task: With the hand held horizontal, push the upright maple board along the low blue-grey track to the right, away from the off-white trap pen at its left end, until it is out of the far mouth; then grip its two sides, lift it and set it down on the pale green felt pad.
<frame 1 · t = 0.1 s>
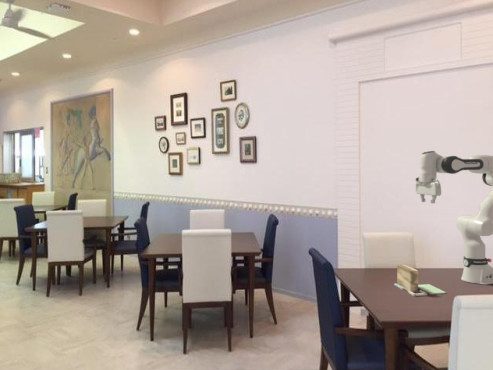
hand: (428, 202, 243), 48 cm above the table, tool pointing down, fingers open, 8 cm apart
pad: (429, 289, 232), on the table
track: (404, 286, 238), on the table
board: (407, 288, 235), on the table
trap pen: (417, 293, 225), on the table
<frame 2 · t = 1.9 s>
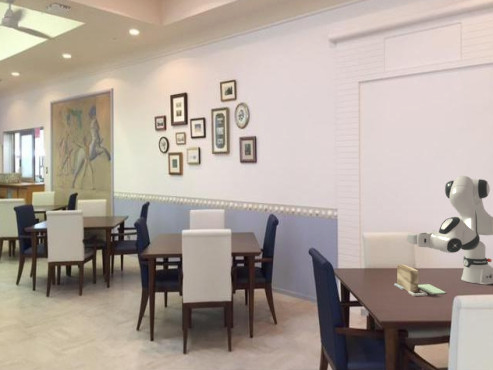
hand: (419, 235, 222), 32 cm above the table, tool horizontal, fingers open, 6 cm apart
nothing on the table moved.
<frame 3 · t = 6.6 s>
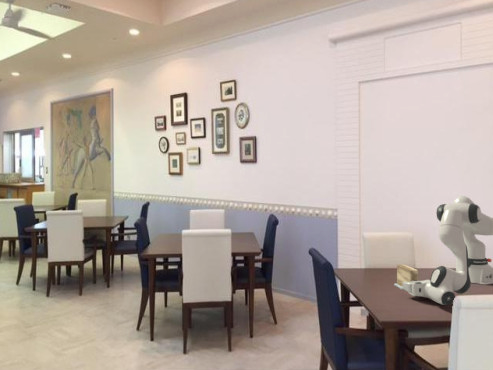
hand: (414, 281, 228), 6 cm above the table, tool horizontal, fingers closed, pressing on board
board: (407, 288, 235), on the table, touching gripper
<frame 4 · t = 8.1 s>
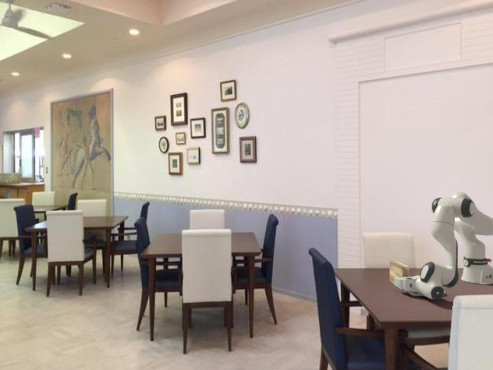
hand: (405, 277, 237), 6 cm above the table, tool horizontal, fingers closed, pressing on board
board: (399, 284, 244), on the table, touching gripper
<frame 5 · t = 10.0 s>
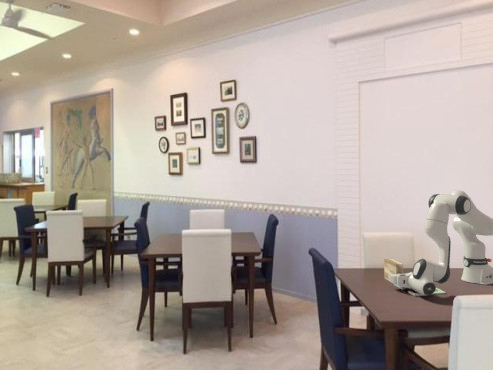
hand: (399, 274, 243), 6 cm above the table, tool horizontal, fingers closed, pressing on board
board: (393, 281, 250), on the table, touching gripper
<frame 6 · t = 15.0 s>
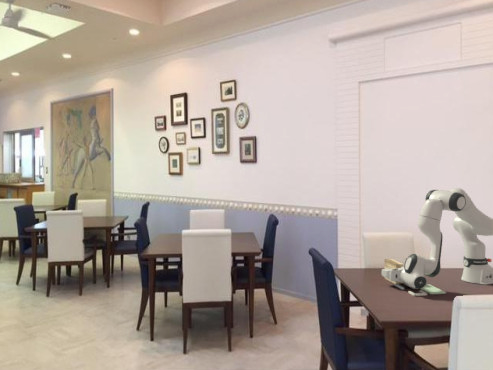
hand: (392, 269, 251), 7 cm above the table, tool horizontal, fingers closed on board, 4 cm apart
board: (393, 281, 250), on the table, touching gripper
when the fingers open (9 cm above the table, at t = 19.8 s): board stays where it is, resting on pad.
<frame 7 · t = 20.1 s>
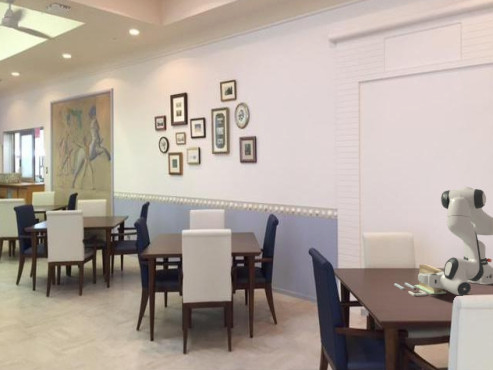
hand: (429, 273, 233), 9 cm above the table, tool horizontal, fingers open, 8 cm apart
board: (430, 288, 232), point 1 cm above the table, touching pad
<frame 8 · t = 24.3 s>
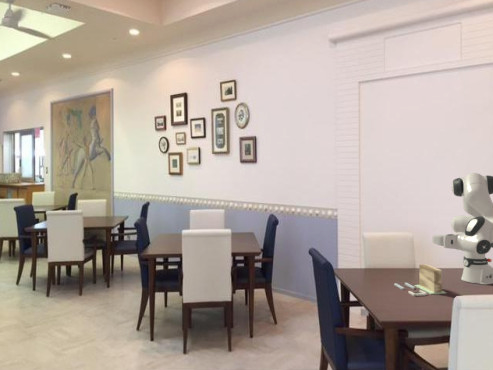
hand: (443, 236, 219), 32 cm above the table, tool horizontal, fingers open, 8 cm apart
nothing on the table moved.
at the end: board inside the target area on the pad (0.2 cm from its centre), point 0.6 cm above the pad's base; board tilted 0°; the gripper is holding nothing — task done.
